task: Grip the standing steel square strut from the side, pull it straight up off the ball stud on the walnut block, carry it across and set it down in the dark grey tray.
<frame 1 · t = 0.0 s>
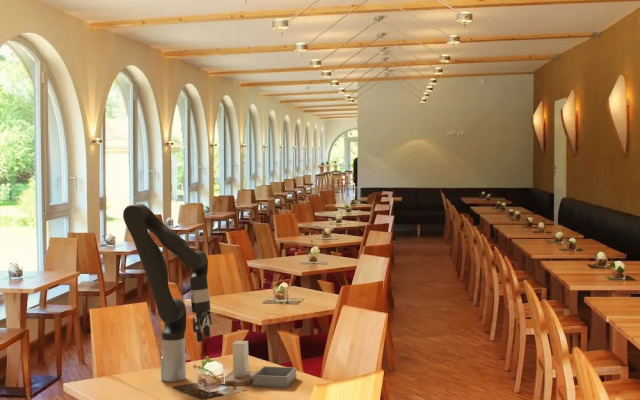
hand: (203, 339, 315), 17 cm above the table, tool pointing down, fingers open, 8 cm apart
grey tray: (275, 382, 311), on the table
stud block: (241, 379, 316), on the table
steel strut: (241, 375, 316), point 1 cm above the table, touching stud block
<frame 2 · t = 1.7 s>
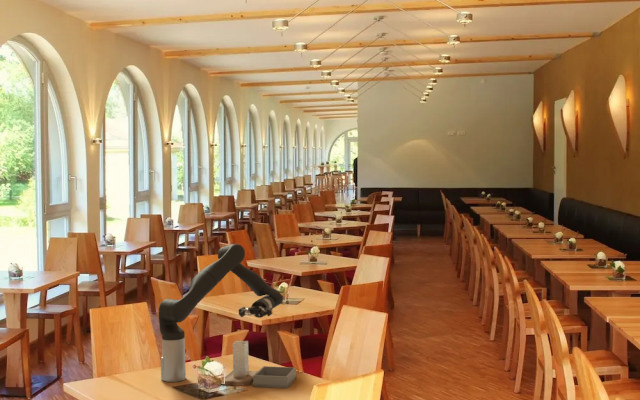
hand: (250, 314, 329), 24 cm above the table, tool horizontal, fingers open, 8 cm apart
nothing on the table moved.
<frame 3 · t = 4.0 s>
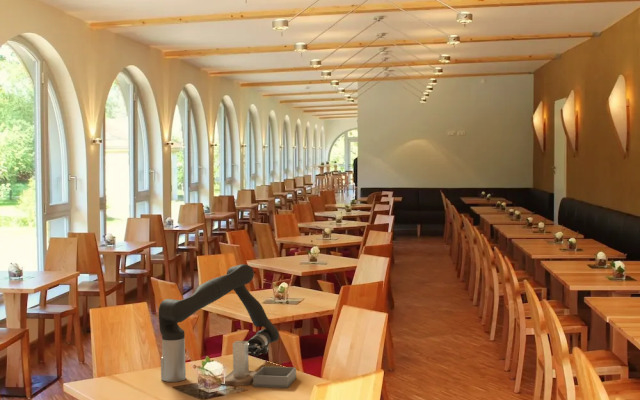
hand: (246, 353, 323), 9 cm above the table, tool horizontal, fingers open, 8 cm apart
nothing on the table moved.
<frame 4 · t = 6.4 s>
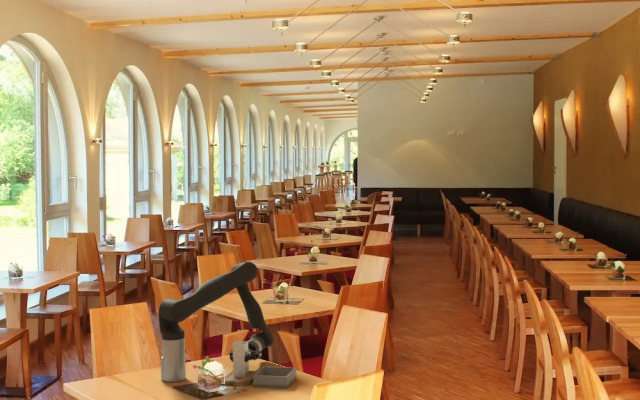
hand: (238, 359, 313), 9 cm above the table, tool horizontal, fingers closed on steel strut, 5 cm apart
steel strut: (241, 375, 316), point 1 cm above the table, touching gripper, stud block
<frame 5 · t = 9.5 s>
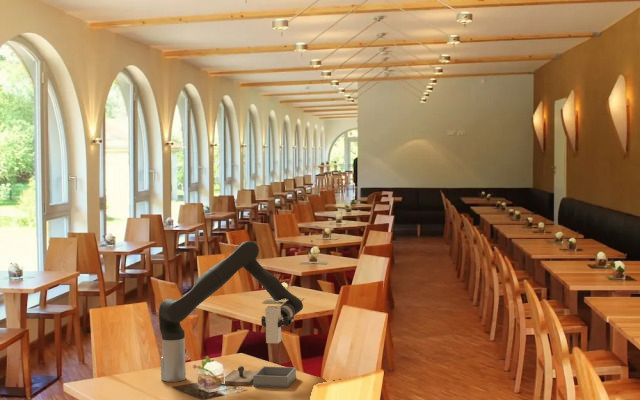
hand: (271, 324, 307), 24 cm above the table, tool horizontal, fingers closed on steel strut, 5 cm apart
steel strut: (273, 341, 310), point 16 cm above the table, touching gripper
when the fingers open (10 cm above the table, at t = 12.6 s): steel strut drops 2 cm, resting on grey tray.
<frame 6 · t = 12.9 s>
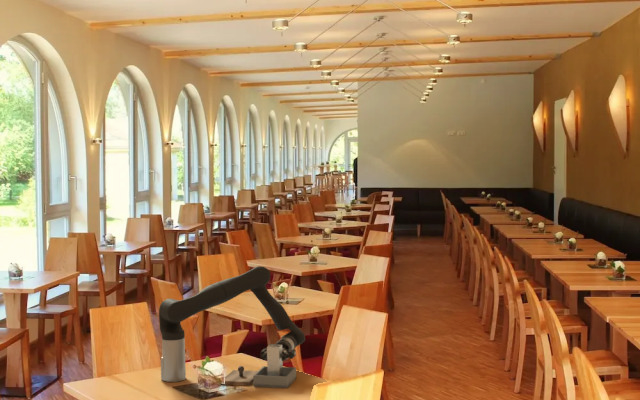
hand: (273, 358, 308), 11 cm above the table, tool horizontal, fingers open, 7 cm apart
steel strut: (275, 379, 311), point 1 cm above the table, touching grey tray
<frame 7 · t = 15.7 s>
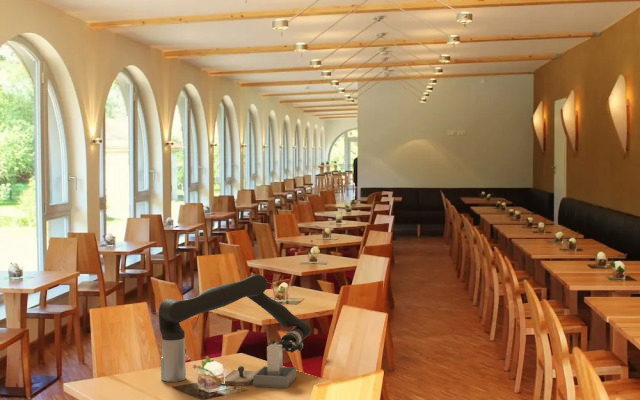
hand: (281, 349, 321), 11 cm above the table, tool horizontal, fingers open, 8 cm apart
nothing on the table moved.
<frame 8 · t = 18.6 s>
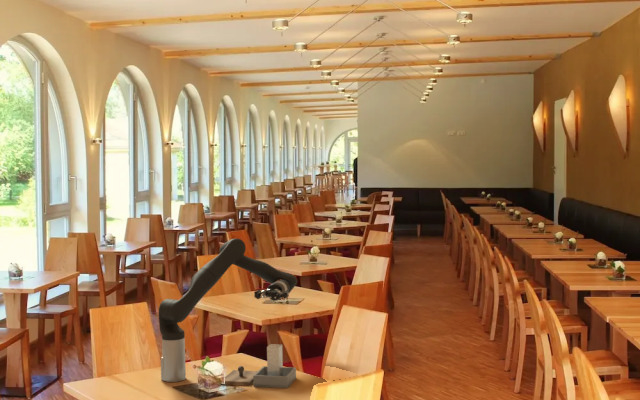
hand: (267, 297, 325), 32 cm above the table, tool horizontal, fingers open, 8 cm apart
nothing on the table moved.
at the end: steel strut inside the target area on the grey tray (0.1 cm from its centre), point 1.0 cm above the grey tray's base; the gripper is holding nothing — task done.
